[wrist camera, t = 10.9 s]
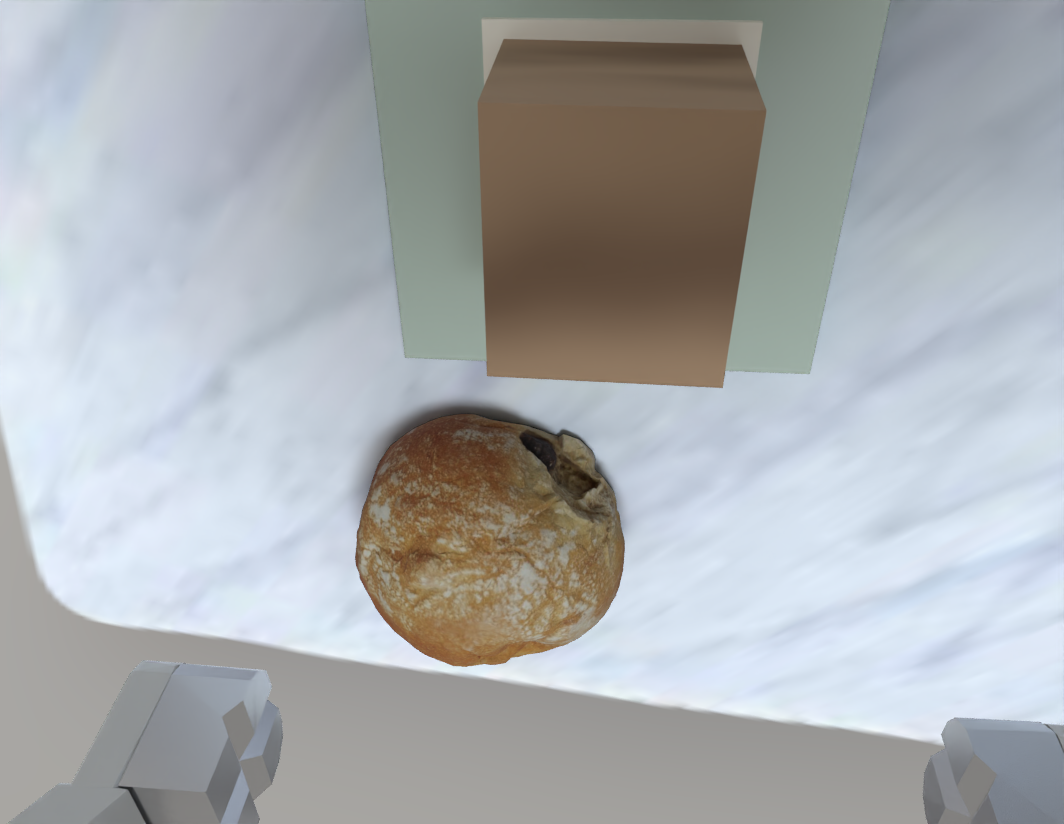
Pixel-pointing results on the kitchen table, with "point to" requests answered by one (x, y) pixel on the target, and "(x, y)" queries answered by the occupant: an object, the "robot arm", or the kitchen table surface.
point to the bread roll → (489, 540)
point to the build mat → (623, 16)
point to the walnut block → (615, 208)
